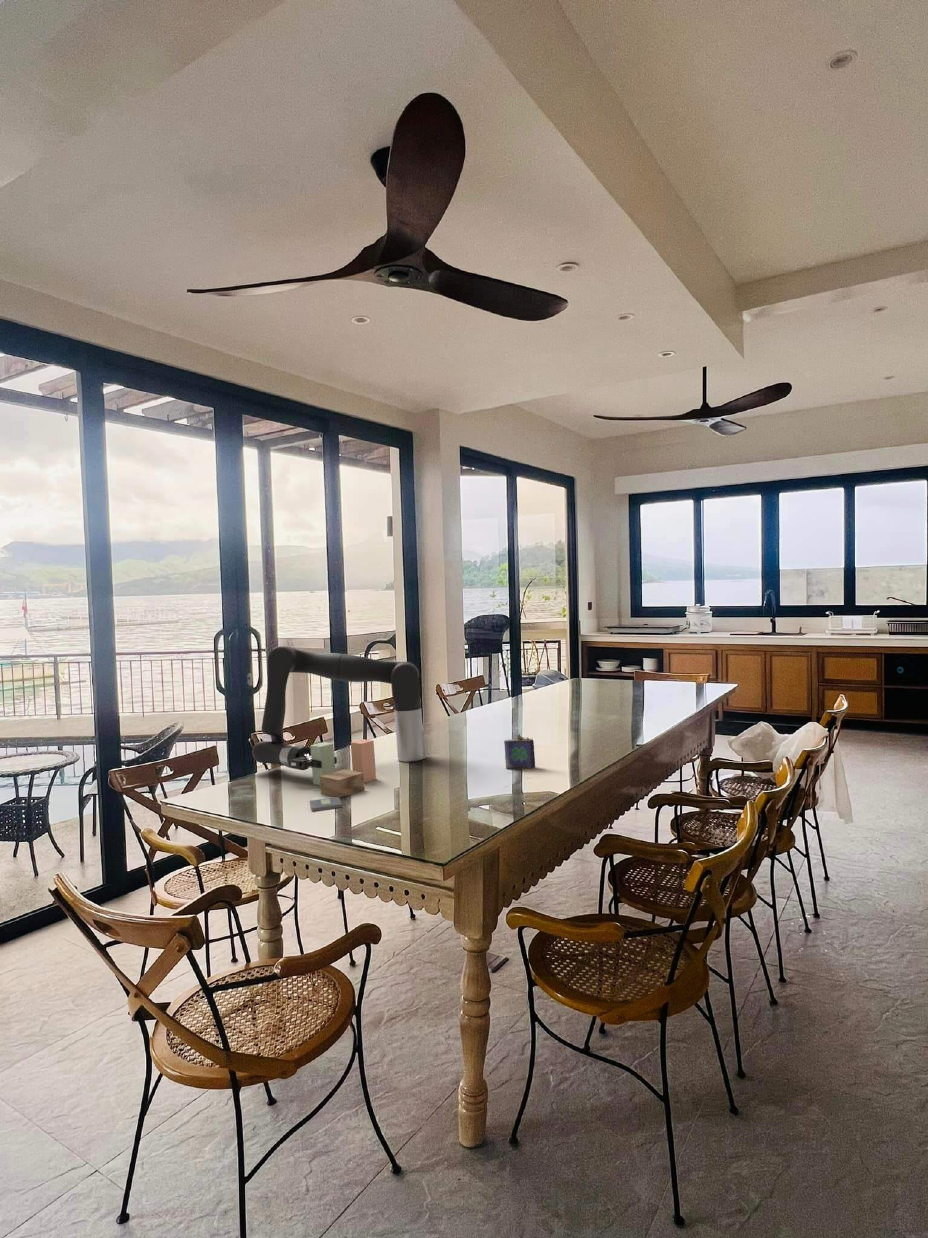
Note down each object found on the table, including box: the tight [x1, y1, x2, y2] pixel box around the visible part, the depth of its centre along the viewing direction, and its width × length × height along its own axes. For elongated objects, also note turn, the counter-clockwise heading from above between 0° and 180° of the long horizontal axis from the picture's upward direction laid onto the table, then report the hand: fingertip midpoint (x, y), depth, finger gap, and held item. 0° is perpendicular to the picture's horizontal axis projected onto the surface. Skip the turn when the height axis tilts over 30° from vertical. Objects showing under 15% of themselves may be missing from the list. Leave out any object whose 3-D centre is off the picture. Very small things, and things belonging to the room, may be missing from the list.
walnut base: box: [319, 769, 365, 798], centre depth 209 cm, size 9×9×5 cm
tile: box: [309, 796, 343, 812], centre depth 196 cm, size 8×8×1 cm
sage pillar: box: [309, 741, 336, 786], centre depth 220 cm, size 5×5×12 cm
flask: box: [503, 732, 536, 770], centre depth 222 cm, size 9×3×11 cm, turn 79°
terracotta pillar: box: [350, 738, 377, 784], centre depth 221 cm, size 5×5×12 cm
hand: (328, 762), depth 218 cm, fingers closed on sage pillar, 5 cm apart
